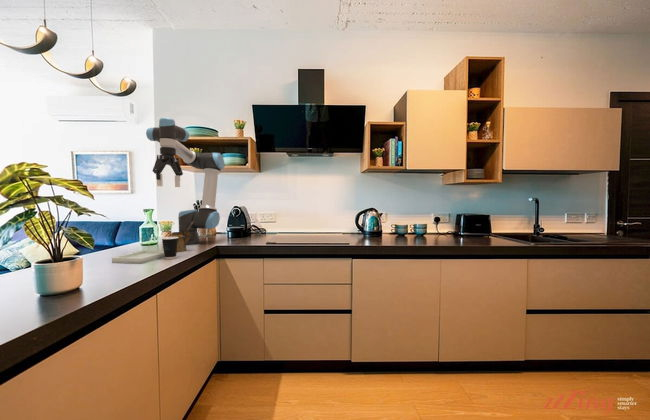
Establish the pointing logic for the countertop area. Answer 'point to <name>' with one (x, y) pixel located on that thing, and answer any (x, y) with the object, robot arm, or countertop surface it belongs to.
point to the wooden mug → (182, 239)
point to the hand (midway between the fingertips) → (169, 186)
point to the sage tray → (139, 257)
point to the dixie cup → (170, 247)
